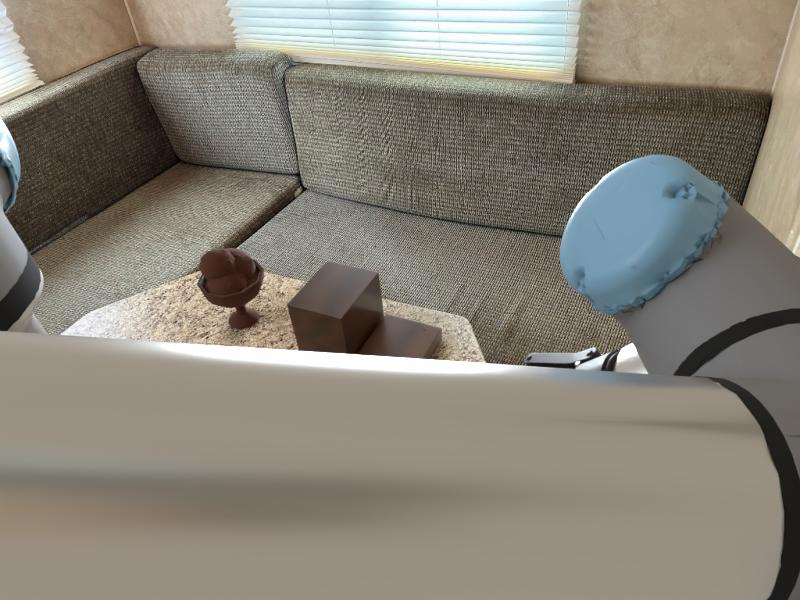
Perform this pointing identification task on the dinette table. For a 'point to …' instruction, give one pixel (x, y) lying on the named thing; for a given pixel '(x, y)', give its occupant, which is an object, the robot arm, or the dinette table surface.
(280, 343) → the dinette table surface
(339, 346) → the wooden l-shaped step
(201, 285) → the ice cream bowl
